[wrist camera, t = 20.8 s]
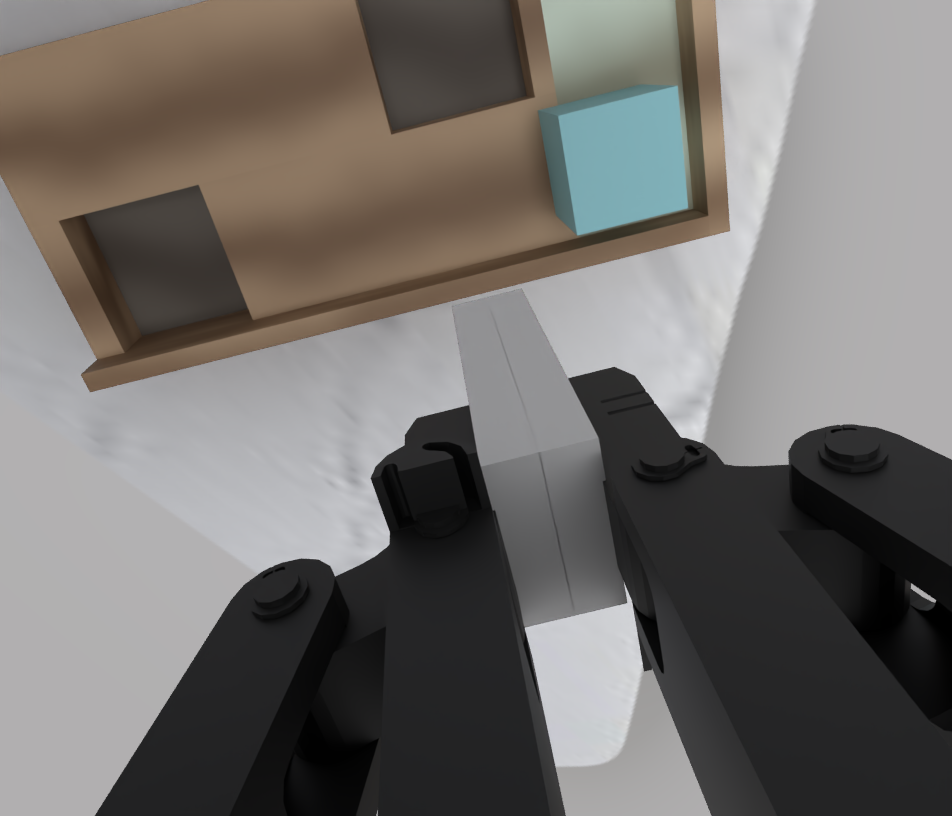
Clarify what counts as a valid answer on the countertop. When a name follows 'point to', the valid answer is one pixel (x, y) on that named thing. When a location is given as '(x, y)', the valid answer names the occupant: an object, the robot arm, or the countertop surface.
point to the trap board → (328, 161)
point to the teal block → (615, 157)
